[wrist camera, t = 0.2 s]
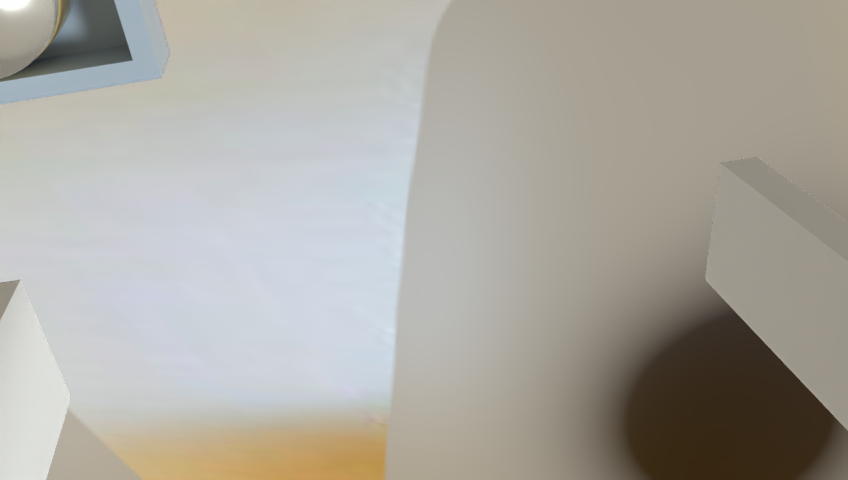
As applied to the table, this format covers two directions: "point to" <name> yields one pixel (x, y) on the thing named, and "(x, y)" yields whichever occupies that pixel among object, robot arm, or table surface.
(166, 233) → the table surface
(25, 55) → the tin
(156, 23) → the tray
